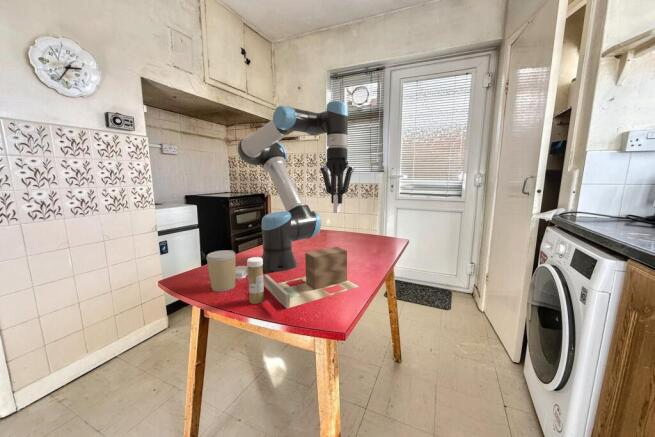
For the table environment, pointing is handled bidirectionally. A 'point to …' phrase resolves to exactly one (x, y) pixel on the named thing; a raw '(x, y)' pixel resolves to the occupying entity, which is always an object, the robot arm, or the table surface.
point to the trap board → (299, 291)
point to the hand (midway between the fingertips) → (336, 212)
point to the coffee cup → (222, 270)
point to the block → (326, 267)
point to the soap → (241, 272)
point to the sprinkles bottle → (255, 280)
